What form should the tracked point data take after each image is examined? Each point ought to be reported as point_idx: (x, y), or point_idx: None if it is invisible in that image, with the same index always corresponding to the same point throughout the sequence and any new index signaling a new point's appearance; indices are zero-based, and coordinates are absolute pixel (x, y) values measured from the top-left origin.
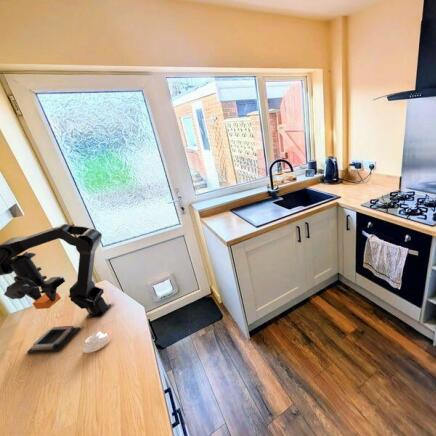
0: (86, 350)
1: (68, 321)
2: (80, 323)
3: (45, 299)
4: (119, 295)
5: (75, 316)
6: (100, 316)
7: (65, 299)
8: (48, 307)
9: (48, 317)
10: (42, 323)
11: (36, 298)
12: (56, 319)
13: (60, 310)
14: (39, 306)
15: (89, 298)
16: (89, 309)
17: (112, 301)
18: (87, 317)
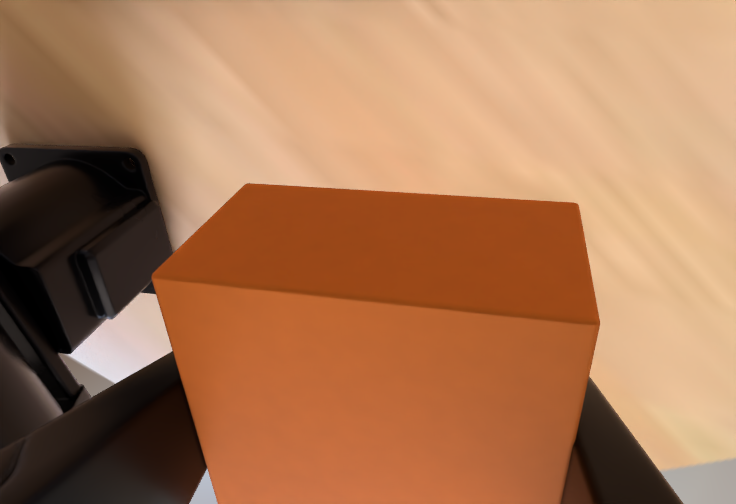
0: None
1: (320, 116)
2: (137, 70)
3: (290, 396)
4: (115, 379)
5: (305, 186)
6: (7, 145)
7: (683, 461)
8: (237, 192)
9: (691, 218)
10: (700, 117)
11: (585, 494)
12: (527, 168)
13: (603, 309)
14: (432, 229)
15: (15, 340)
16: (2, 199)
17: (106, 323)
18: (131, 148)
